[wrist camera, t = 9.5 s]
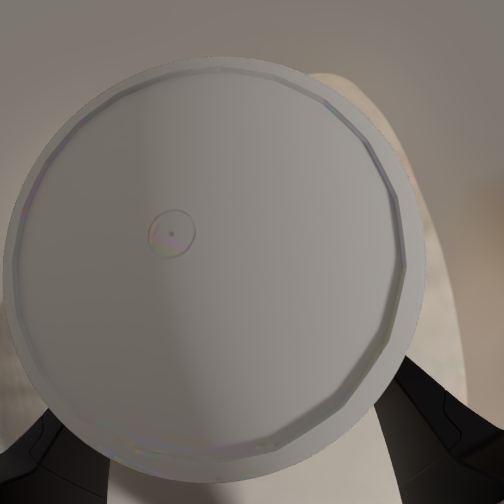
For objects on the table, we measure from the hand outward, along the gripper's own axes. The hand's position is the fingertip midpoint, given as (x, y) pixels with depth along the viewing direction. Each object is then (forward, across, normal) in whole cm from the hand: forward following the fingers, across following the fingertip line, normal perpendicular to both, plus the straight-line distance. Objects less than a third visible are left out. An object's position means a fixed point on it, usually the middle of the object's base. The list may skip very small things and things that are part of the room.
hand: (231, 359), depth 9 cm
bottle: (+8, 0, +4) cm, 9 cm away
